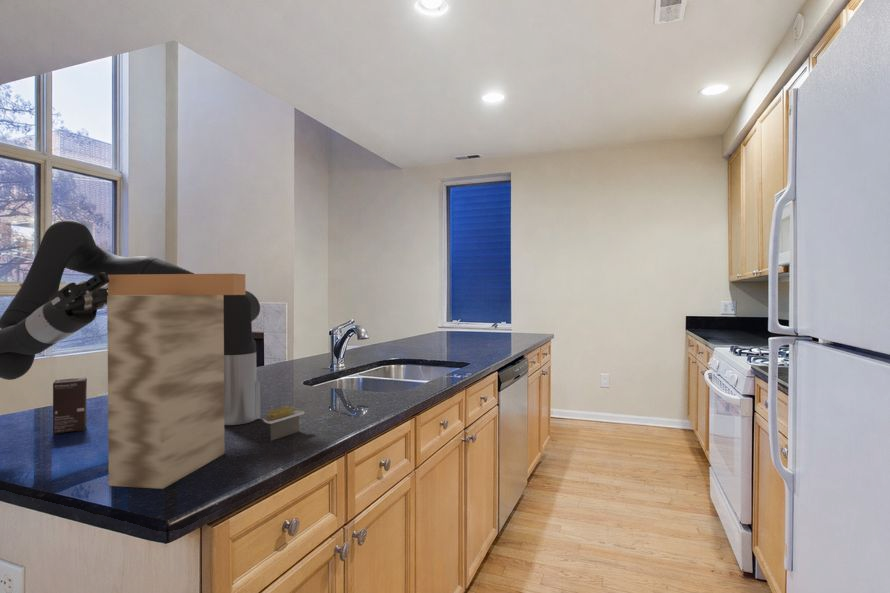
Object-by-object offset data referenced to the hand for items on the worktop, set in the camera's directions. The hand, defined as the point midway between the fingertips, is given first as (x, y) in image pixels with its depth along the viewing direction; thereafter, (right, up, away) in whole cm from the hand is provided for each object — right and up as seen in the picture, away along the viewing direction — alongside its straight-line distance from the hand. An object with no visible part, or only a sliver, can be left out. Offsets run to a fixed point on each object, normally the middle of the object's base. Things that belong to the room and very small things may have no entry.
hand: (124, 277), depth 92 cm
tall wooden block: (+13, -36, -6) cm, 38 cm away
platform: (+26, -36, +14) cm, 47 cm away
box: (-25, -36, +18) cm, 48 cm away
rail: (+11, -4, -1) cm, 12 cm away
